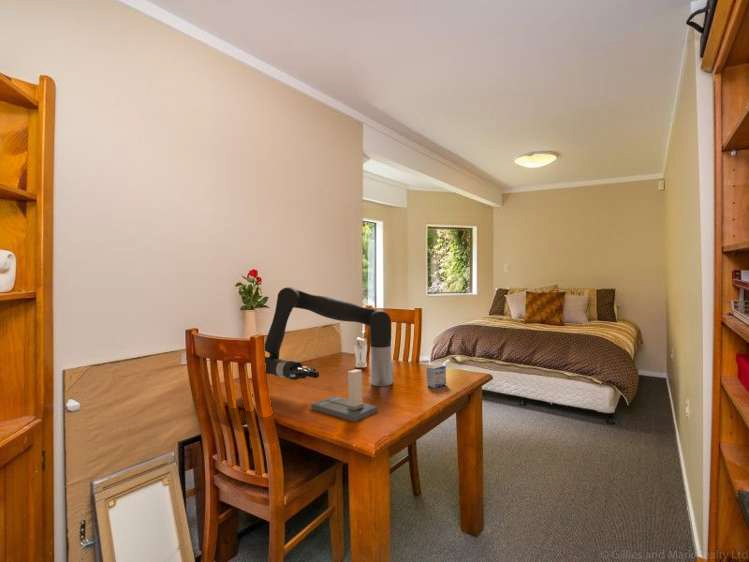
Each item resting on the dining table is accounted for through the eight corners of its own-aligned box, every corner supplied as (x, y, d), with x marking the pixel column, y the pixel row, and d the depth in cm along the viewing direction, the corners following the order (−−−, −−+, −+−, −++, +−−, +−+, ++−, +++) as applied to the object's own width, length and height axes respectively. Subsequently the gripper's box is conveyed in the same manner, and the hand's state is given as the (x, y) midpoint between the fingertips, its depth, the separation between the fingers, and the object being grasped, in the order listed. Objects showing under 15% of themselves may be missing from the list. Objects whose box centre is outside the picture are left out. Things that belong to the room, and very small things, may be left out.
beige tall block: (356, 404, 142) (355, 368, 142) (364, 406, 140) (363, 370, 140) (346, 408, 138) (345, 371, 138) (355, 410, 136) (354, 373, 136)
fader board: (334, 400, 155) (334, 395, 155) (377, 411, 141) (377, 406, 141) (311, 409, 145) (311, 403, 145) (355, 422, 131) (354, 415, 131)
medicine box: (434, 388, 167) (434, 368, 166) (426, 386, 170) (426, 367, 170) (446, 385, 172) (446, 365, 171) (438, 383, 175) (438, 364, 175)
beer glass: (356, 368, 206) (355, 340, 206) (353, 365, 213) (352, 338, 213) (369, 367, 208) (368, 339, 208) (365, 364, 215) (364, 337, 215)
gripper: (275, 363, 157) (304, 369, 146) (301, 357, 168) (329, 362, 157) (276, 382, 158) (305, 389, 147) (302, 374, 168) (330, 380, 157)
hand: (317, 375), depth 152 cm, fingers closed
